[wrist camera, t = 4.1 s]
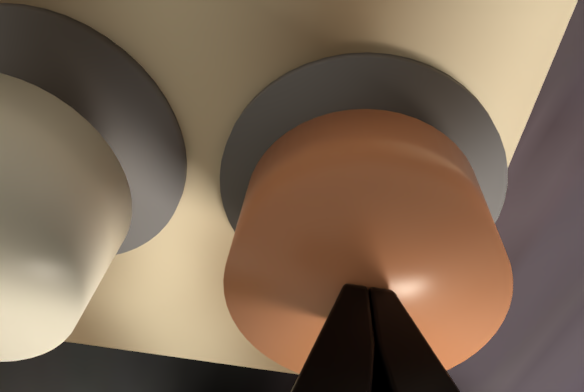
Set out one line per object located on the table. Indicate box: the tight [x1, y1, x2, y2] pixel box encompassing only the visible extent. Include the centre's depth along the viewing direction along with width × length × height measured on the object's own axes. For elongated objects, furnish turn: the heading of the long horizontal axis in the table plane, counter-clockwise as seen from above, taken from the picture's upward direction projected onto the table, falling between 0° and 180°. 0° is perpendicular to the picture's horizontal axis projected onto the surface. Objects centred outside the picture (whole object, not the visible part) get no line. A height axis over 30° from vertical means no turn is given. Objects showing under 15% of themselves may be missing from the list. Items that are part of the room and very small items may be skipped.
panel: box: [0, 0, 578, 374], centre depth 12 cm, size 20×14×2 cm
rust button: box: [223, 109, 513, 374], centre depth 10 cm, size 5×5×2 cm
